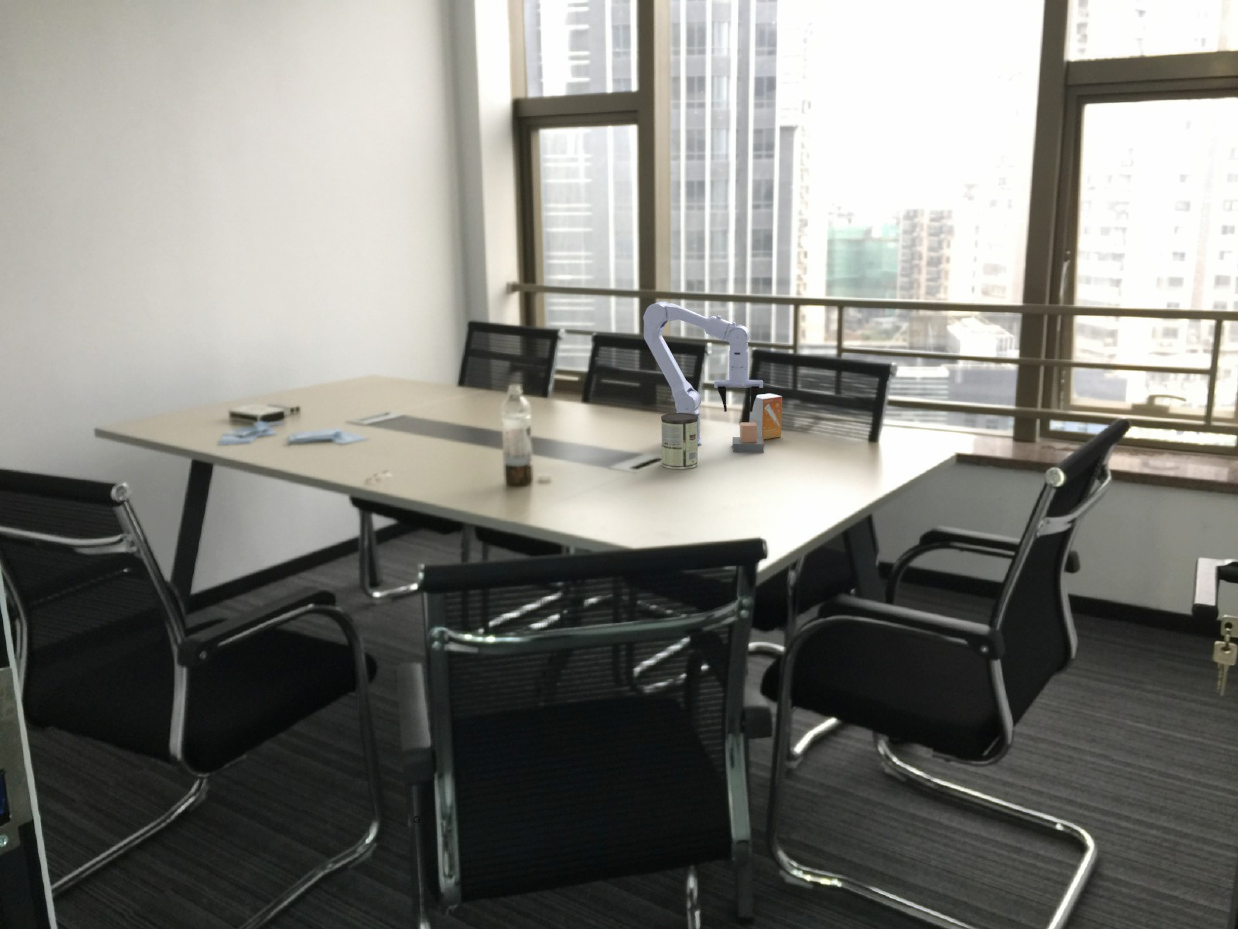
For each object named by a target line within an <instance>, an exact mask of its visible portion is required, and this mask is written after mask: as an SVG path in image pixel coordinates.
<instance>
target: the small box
mask: <svg viewBox="0 0 1238 929" xmlns="http://www.w3.org/2000/svg"><path fill="white" fill-rule="evenodd" d="M750 399H751V395H749V400H750ZM782 412H783V396H782V395H778V394H775V393H765V394H762V393H761V394H757V397H756V399H755V402H754V405H753V410H752V412H750V411H749V422H755V423H756V425H757V437H763V440H768V439H769V440H770V439H775V438H781V436H782V414H783V413H782Z"/></svg>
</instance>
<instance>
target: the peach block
mask: <svg viewBox="0 0 1238 929" xmlns="http://www.w3.org/2000/svg"><path fill="white" fill-rule="evenodd" d="M739 437H740V440H741V442H757V425H756V423H755V422H750V421H749V422H747V421H746V422H739Z"/></svg>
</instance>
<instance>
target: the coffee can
mask: <svg viewBox="0 0 1238 929" xmlns="http://www.w3.org/2000/svg"><path fill="white" fill-rule="evenodd" d="M697 419H698V416H697V415H695V414H691V413H676V412H670V413H665V414H662V415H661V416H660V420H661V467H663V468H665V469H671V470H690V469H694V468H695V467H697V466H698V464H699V463H698V445H697Z"/></svg>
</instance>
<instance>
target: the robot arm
mask: <svg viewBox="0 0 1238 929" xmlns="http://www.w3.org/2000/svg"><path fill="white" fill-rule="evenodd" d="M642 319H643V338H644V341H645V343H646V344H647V346H648V348H649V350H650V352H651V354H652V355H653V358H654V359H655V362H656V363H657V364H658V366H659V368H660V370H661V372H662V373H663V375H664V377H665V379H666V381H667V383H668V385H669V387H670V388H671V393H672V394H671V395H672V399H674V406H675V407H674V408H675V409H676V412H675V413H691V414H695V415H697V416H698V419H697V446H698V445H699V446H700V445H701V446H702V437H701V411H700V410H699V407H700V406H701V403H702V396H701V395H700V393H699V392H698V391H697V390H695V389H694V387H693V385H692V384H691V383H690V382H688V380H686V378H685V375H684V374H683V372H682V370H681V368H680V366H679V365H678V364H679V363H677V361H676V359H675V358H674V356H673V354H672V351H671V350H670V348H669V347H668V344H667V343H666V341H665V339H664V337H663V333H664V330H665V326H666V324H667V323H668V322H672V321H680V322H681V321H682V322H685V323H687V324H690V325H694V326H696V327H699V328H702V329H704V331H705V333H706V335H709V336H712V337H713V338H716V339H719V340H721V341H725V342H728V343H729V352H728V353H729V354H728V379H721V380H713V385H714V386H713V387H714V389H717V391H718V394H719V396H720V399H721V402H722V404H723V410H724V413H725V412H727V411H728V408H727V388H750V396H751V399H750V398H749V413H750V412H752V410H753V405H754V402H755V399H756V397H757V395H759V392H760V389H761V388H762V389H764V381H763V380H761V379H758V380H757V379H749V343H748V341H749V340H750V337H751V333H750V330H749V328H748V327H746V326H744V325H743V324H737V322H735V321H733V322H730V321H728V320H726V319H724V318H722V316H721V315H718V314H717V316H716V315H712V316H710V317H706V316H704V315H702V314H699V313H697V312H694V311H692V310H690V309H687V308H686V307H683V306H681V305H678V304H676V303H672V302H670V303H669V302H668V301H666V300H659V301H657V302H655V303H652V304H650V305H649V306H647V307H646V309H645V312H644V314H643V317H642Z"/></svg>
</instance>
